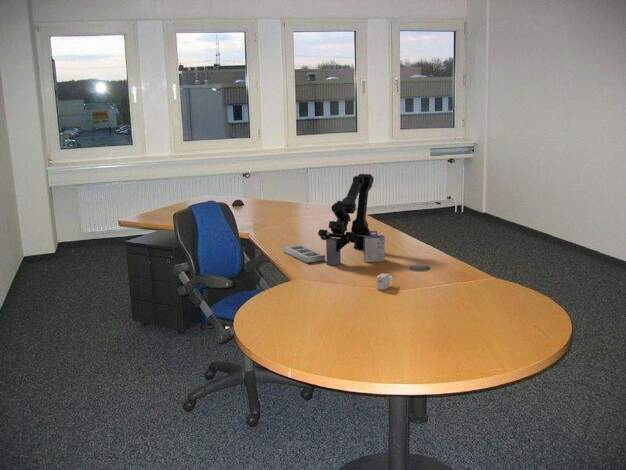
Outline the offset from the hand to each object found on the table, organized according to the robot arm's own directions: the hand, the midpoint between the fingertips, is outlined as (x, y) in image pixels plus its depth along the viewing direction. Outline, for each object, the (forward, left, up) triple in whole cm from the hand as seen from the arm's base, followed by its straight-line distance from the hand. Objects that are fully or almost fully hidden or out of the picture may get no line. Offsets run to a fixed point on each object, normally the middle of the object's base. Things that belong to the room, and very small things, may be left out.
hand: (332, 250), depth 291 cm
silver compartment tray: (+5, -20, -7) cm, 22 cm away
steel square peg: (-1, -1, -7) cm, 7 cm away
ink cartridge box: (-21, +5, -7) cm, 22 cm away
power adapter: (-2, +43, -7) cm, 44 cm away
